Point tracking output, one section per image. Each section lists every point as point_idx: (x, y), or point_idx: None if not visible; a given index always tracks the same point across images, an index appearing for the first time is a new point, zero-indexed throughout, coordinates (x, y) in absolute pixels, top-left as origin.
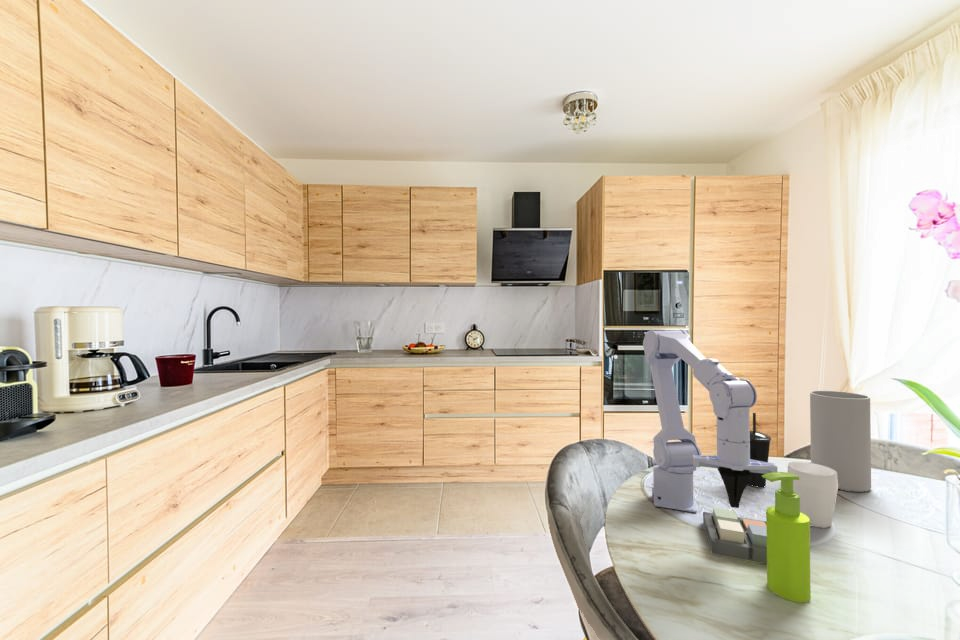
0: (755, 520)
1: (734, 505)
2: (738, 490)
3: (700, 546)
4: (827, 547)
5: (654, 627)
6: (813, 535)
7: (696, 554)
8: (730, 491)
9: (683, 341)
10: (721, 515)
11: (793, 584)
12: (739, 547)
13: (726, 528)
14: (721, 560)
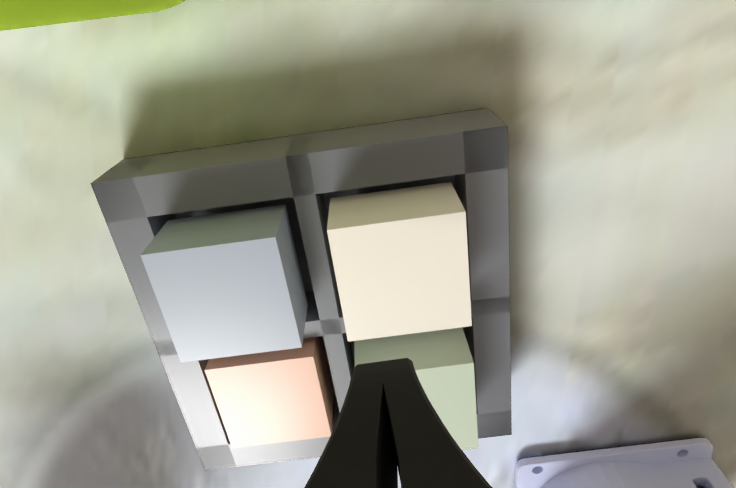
0: (270, 443)
1: (386, 367)
2: (356, 484)
3: (538, 158)
4: (17, 418)
5: None
6: (73, 482)
7: (573, 55)
8: (437, 455)
9: None
10: (441, 382)
11: None
12: (355, 144)
13: (428, 230)
14: (446, 59)
